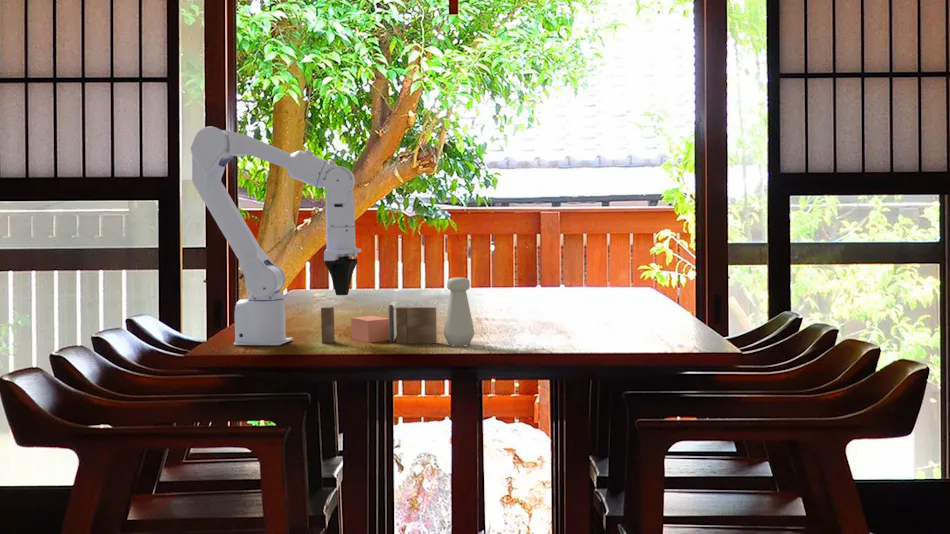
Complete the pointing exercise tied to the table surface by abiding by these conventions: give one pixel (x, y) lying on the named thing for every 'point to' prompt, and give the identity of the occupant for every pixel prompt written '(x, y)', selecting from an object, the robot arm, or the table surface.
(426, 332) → the frame
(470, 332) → the salt shaker
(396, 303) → the door
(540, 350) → the table surface
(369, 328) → the block
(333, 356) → the table surface
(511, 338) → the table surface
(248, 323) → the robot arm
